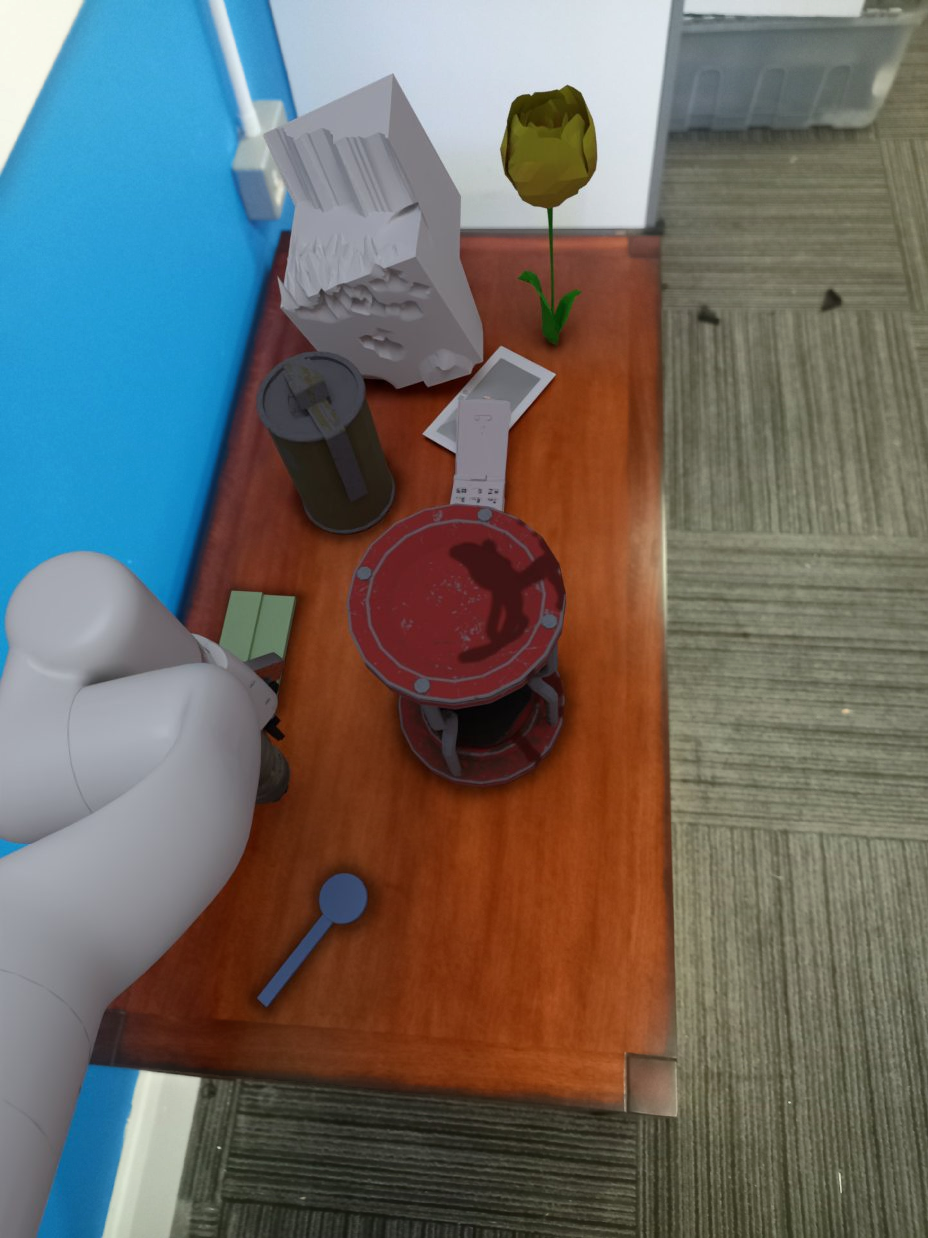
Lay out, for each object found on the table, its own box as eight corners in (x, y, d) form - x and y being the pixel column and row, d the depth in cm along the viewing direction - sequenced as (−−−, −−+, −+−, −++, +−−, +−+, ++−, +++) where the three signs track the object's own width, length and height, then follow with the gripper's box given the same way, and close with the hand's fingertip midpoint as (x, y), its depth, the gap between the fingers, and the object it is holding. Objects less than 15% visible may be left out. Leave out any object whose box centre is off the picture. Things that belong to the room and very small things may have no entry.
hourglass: (537, 809, 83) (529, 729, 60) (377, 760, 86) (312, 666, 64) (583, 655, 89) (591, 528, 66) (432, 614, 92) (390, 481, 69)
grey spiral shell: (249, 761, 84) (189, 710, 71) (306, 753, 84) (257, 701, 71) (249, 820, 82) (188, 779, 69) (308, 812, 82) (258, 770, 68)
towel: (275, 706, 90) (271, 702, 88) (209, 702, 90) (204, 697, 89) (297, 599, 94) (293, 593, 93) (233, 596, 95) (229, 590, 94)
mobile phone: (512, 397, 95) (487, 607, 85) (515, 431, 101) (492, 632, 90) (456, 396, 96) (425, 604, 86) (462, 429, 101) (434, 629, 91)
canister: (288, 482, 101) (229, 363, 83) (369, 440, 102) (328, 314, 84) (329, 553, 96) (276, 444, 78) (413, 508, 98) (380, 391, 80)
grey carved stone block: (494, 387, 100) (383, 219, 80) (372, 423, 106) (239, 276, 86) (494, 254, 109) (394, 72, 88) (381, 295, 115) (262, 133, 94)
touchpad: (556, 380, 103) (556, 367, 101) (478, 471, 99) (476, 460, 97) (501, 351, 105) (500, 339, 103) (423, 439, 101) (420, 428, 99)
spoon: (281, 1019, 77) (278, 1019, 77) (245, 986, 79) (242, 986, 78) (378, 894, 81) (376, 893, 80) (342, 864, 82) (340, 863, 82)
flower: (575, 306, 107) (580, 62, 80) (597, 356, 104) (610, 119, 77) (506, 326, 107) (488, 88, 80) (526, 376, 104) (514, 146, 76)
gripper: (98, 823, 54) (205, 870, 71) (285, 615, 59) (345, 704, 76) (22, 753, 57) (142, 814, 73) (207, 558, 62) (281, 656, 78)
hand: (244, 757), depth 74 cm, fingers closed on grey spiral shell, 5 cm apart
